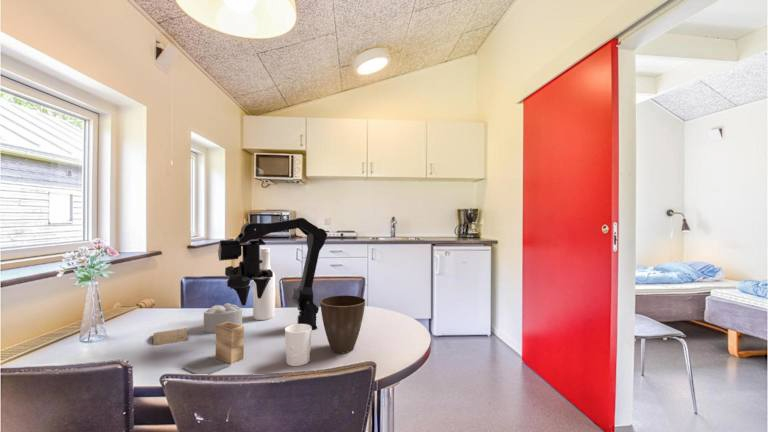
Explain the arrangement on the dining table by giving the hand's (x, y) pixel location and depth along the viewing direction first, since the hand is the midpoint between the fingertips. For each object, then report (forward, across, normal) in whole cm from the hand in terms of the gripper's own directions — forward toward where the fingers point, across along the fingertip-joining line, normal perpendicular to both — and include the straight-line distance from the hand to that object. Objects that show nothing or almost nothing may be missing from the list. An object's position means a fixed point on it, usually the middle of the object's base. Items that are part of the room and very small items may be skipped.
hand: (251, 301), depth 113 cm
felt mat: (+13, +22, 0) cm, 26 cm away
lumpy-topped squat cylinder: (+13, -8, -18) cm, 23 cm away
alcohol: (+14, -23, -10) cm, 28 cm away
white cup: (+14, +13, +24) cm, 31 cm away
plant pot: (+14, +1, +34) cm, 37 cm away
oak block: (+13, +16, +3) cm, 21 cm away
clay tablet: (+13, +5, -29) cm, 32 cm away
